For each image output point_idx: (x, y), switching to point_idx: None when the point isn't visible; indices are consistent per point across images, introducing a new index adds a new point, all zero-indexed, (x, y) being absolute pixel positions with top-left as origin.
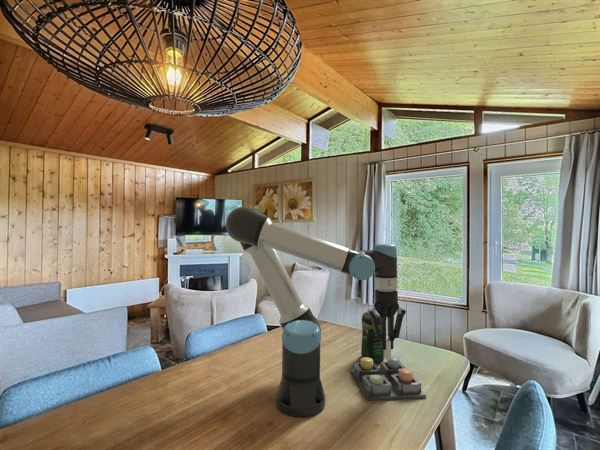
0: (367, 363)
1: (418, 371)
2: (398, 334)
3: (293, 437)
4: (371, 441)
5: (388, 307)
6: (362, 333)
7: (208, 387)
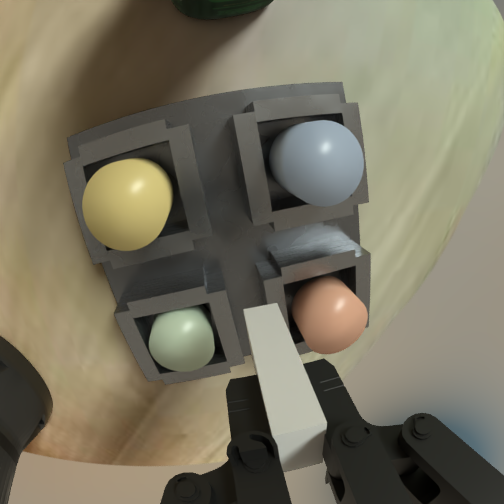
0: (129, 247)
1: (407, 106)
2: (419, 473)
3: (50, 450)
4: (171, 462)
5: None
6: None
7: None
